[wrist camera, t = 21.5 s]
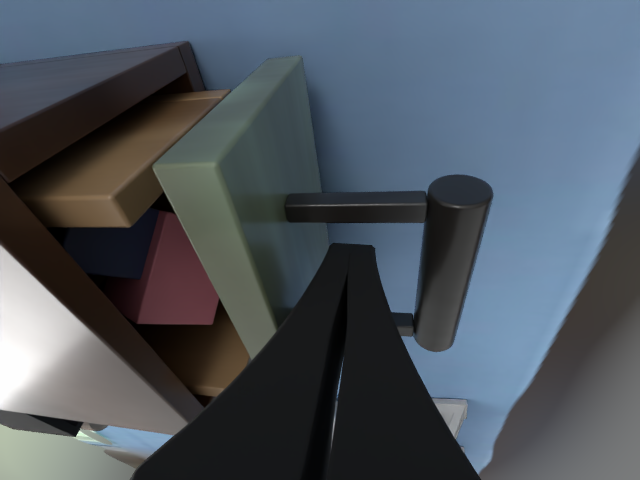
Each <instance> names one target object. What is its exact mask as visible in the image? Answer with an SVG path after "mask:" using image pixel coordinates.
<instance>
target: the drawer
mask: <svg viewBox="0 0 640 480" xmlns="http://www.w3.org/2000/svg"><path fill="white" fill-rule="evenodd" d="M7 184H8V185H9V186H10V188H11V189H12V190H13V191H14V192H15V193H16V194H17V196H18V197H19V198H20V199H21V200H22V201H23V202H24V203H25V205H26V206H27V207H28V208H29V209H30V210H31V211H32V213H33V214H34V215H35V216H36V217H37V218H38V219H39V221H40V222H41V223H42V224H43V225H44V226H45V227H46V228H47V227H90V228H128V227H131V226H133V225H134V224H135V223H136V221H137V220H138V219H139V218H140V217H141V216H142V215H143V214H144V213H145V212H146V211H147V209H148V208H149V207H150V208H153V209H157V210H160V211H168V212H172V213H175V214H176V216H177V218H178V220H179V221H180V223H181V225H182V227H183V229H184V231H185V233H186V235H187V237H188V239H189V241H190V243H191V245H192V246H193V248H194V250H195V252H196V254H197V256H198V258H199V260H200V262H201V264H202V266H203V268H204V269H205V271H206V273H207V275H208V277H209V279H210V281H211V283H212V285H213V287H214V289H215V291H216V293H217V294H218V296H219V301H218V305H217V309H216V313H215V317H214V321H213V324H211V325H202V324H136V323H135V322H133V321H132V320H130V319H129V318H127V317H126V316H124V315H123V314H122V315H123V316H124V317H125V318H126V319H127V321H128V322H129V323H130V324H131V325H132V326H133V327H134V328H135V330H136V331H137V332H138V333H139V334H140V335H141V336H142V338H143V339H144V340H145V341H146V342H147V343H148V344H149V346H150V347H151V348H152V349H153V350H154V351H155V352H156V354H157V355H158V356H159V357H160V358H161V359H162V360H163V361H164V363H165V364H166V365H167V366H168V367H169V368H170V369H171V371H172V372H173V373H174V374H175V375H176V376H177V377H178V379H179V380H180V381H181V382H182V383H183V384H184V385H185V386H186V388H187V389H188V390H189V391H190V392H191V393H192V394H197V395H206V396H214V397H217V396H218V395H219V394H220V393H221V392H222V391H223V390H224V389H225V388H226V387H227V386H228V385H229V384H230V383H231V382H232V381H233V380H234V379H235V378H236V377H237V376H238V375H239V374H240V373H241V371H242V370H243V369H244V368H245V367H246V366H247V365H248V364H249V363H250V362H251V360H252V359H253V358H254V357H255V356H256V355H257V354H258V353H259V352H260V350H261V349H262V348H263V347H264V346H265V344H266V343H267V342H268V341H269V340H270V339H271V337H272V336H273V335H274V334H275V332H276V331H277V330H278V328H279V327H280V326H281V325H282V323H283V322H284V321H285V319H286V318H287V316H288V315H289V314H290V312H291V311H292V309H293V308H294V307H295V305H296V304H297V302H298V301H299V300H300V298H301V297H302V295H303V293H304V292H305V290H306V289H307V287H308V285H309V284H310V282H311V281H312V279H313V277H314V276H315V274H316V272H317V270H318V269H319V267H320V265H321V263H322V261H323V259H324V257H325V255H326V253H327V251H328V248H329V246H330V245H329V238H328V231H327V224H326V223H424V230H423V239H422V248H421V257H420V266H419V275H418V284H417V293H416V302H415V311H414V320H413V314H411V313H395V312H391V313H392V316H393V319H394V321H395V324H396V326H397V328H398V331H399V333H400V336H409V337H412V336H413V337H414V339H415V340H416V342H417V343H418V344H419V345H420V346H421V347H423V348H424V349H426V350H429V351H433V352H441V351H444V350H447V349H448V348H450V347H451V346H452V345H453V343H454V340H455V336H456V333H457V329H458V325H459V322H460V318H461V314H462V311H463V307H464V303H465V299H466V296H467V292H468V288H469V285H470V281H471V277H472V274H473V270H474V266H475V263H476V259H477V255H478V252H479V248H480V244H481V240H482V237H483V233H484V229H485V226H486V222H487V218H488V215H489V211H490V207H491V204H492V200H493V191H492V188H491V187H490V185H489V184H488V183H486V182H485V181H483V180H481V179H479V178H476V177H473V176H468V175H447V176H443V177H440V178H438V179H436V180H434V181H433V182H432V183H431V185H430V186H429V188H428V193H427V195H426V192H425V191H388V192H336V193H322V189H321V182H320V175H319V168H318V161H317V154H316V147H315V140H314V133H313V126H312V119H311V112H310V105H309V98H308V91H307V84H306V77H305V70H304V63H303V58H302V56H300V55H298V56H288V57H279V58H270V59H267V60H265V61H264V62H263V63H262V64H261V65H260V66H259V67H258V68H257V69H256V70H255V71H254V72H252V73H251V74H250V75H249V76H248V77H247V78H246V79H245V80H244V81H243V82H242V83H241V84H239V85H238V86H237V87H236V88H235V89H234V90H233V91H232V92H231V90H230V89H223V90H212V91H201V92H190V93H178V94H167V95H156V96H148V97H147V98H145V99H143V100H142V101H140V102H139V103H137V104H135V105H134V106H132V107H131V108H129V109H127V110H126V111H124V112H123V113H121V114H119V115H118V116H116V117H115V118H113V119H111V120H110V121H108V122H107V123H105V124H103V125H102V126H100V127H99V128H97V129H95V130H94V131H92V132H90V133H89V134H87V135H86V136H84V137H82V138H81V139H79V140H78V141H76V142H74V143H73V144H71V145H70V146H68V147H66V148H65V149H63V150H62V151H60V152H58V153H57V154H55V155H54V156H52V157H50V158H49V159H47V160H46V161H44V162H42V163H41V164H39V165H38V166H36V167H34V168H33V169H31V170H29V171H28V172H26V173H25V174H23V175H21V176H20V177H18V178H17V179H15V180H13V181H12V182H10V183H7ZM87 275H88V276H89V277H90V278H91V280H92V281H93V282H94V283H95V284H96V285H97V286H98V288H99V289H100V290H101V291H102V292H103V291H104V288H105V284H106V281H107V277H108V276H100V275H91V274H87Z"/></svg>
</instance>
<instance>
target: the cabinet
mask: <svg viewBox="0 0 640 480" xmlns="http://www.w3.org/2000/svg"><path fill="white" fill-rule="evenodd" d="M201 91H205V88H204V85H203V82H202V79H201V76H200V73H199V70H198V67H197V64H196V61H195V58H194V55H193V52H192V50H191V47H190V44H189V42H188V41H183V42H175V43H167V44H159V45H151V46H143V47H135V48H127V49H119V50H111V51H103V52H95V53H87V54H79V55H71V56H63V57H55V58H47V59H39V60H31V61H23V62H15V63H7V64H0V410H6V411H13V412H19V413H26V414H33V415H40V416H47V417H54V418H60V419H67V420H74V421H81V422H88V423H95V424H101V425H108V426H115V427H122V428H129V429H135V430H142V431H149V432H156V433H163V434H170V435H175V434H177V433H178V432H179V431H180V430H181V429H182V428H184V427H185V426H186V425H187V424H188V423H189V422H190V421H191V420H192V419H194V418H195V417H196V416H197V415H198V414H199V413H200V412H201V411H202V410H203V409H204V408H205V407H206V406H207V405H208V404H209V403H210V402H211V401H212V400H213V399H215V398H216V397H214V396H206V395H197V394H192V393H191V392H190V391H189V390H188V389H187V388H186V386H185V385H184V384H183V383H182V382H181V381H180V380H179V379H178V377H177V376H176V375H175V374H174V373H173V372H172V371H171V369H170V368H169V367H168V366H167V365H166V364H165V363H164V361H163V360H162V359H161V358H160V357H159V356H158V355H157V354H156V352H155V351H154V350H153V349H152V348H151V347H150V346H149V344H148V343H147V342H146V341H145V340H144V339H143V338H142V336H141V335H140V334H139V333H138V332H137V331H136V330H135V328H134V327H133V326H132V325H131V324H130V323H129V322H128V321H127V319H126V318H125V317H124V316H123V315H122V314H121V313H120V311H119V310H118V309H117V308H116V307H115V306H114V305H113V303H112V302H111V301H110V300H109V299H108V298H107V297H106V296H105V294H104V293H103V292H102V291H101V290H100V289H99V288H98V286H97V285H96V284H95V283H94V282H93V281H92V280H91V278H90V277H89V276H88V275H87V274H86V273H85V272H84V271H83V269H82V268H81V267H80V266H79V265H78V264H77V263H76V261H75V260H74V259H73V258H72V257H71V256H70V255H69V253H68V252H67V251H66V250H65V249H64V248H63V247H62V246H61V244H60V243H59V242H58V241H57V240H56V239H55V238H54V236H53V235H52V234H51V233H50V232H49V231H48V230H47V228H46V227H45V226H44V225H43V224H42V223H41V222H40V221H39V219H38V218H37V217H36V216H35V215H34V214H33V213H32V211H31V210H30V209H29V208H28V207H27V206H26V205H25V203H24V202H23V201H22V200H21V199H20V198H19V197H18V196H17V194H16V193H15V192H14V191H13V190H12V189H11V188H10V186H9V185H8V184H7V183H10V182H12V181H13V180H15V179H17V178H18V177H20V176H21V175H23V174H25V173H26V172H28V171H29V170H31V169H33V168H34V167H36V166H38V165H39V164H41V163H42V162H44V161H46V160H47V159H49V158H50V157H52V156H54V155H55V154H57V153H58V152H60V151H62V150H63V149H65V148H66V147H68V146H70V145H71V144H73V143H74V142H76V141H78V140H79V139H81V138H82V137H84V136H86V135H87V134H89V133H90V132H92V131H94V130H95V129H97V128H99V127H100V126H102V125H103V124H105V123H107V122H108V121H110V120H111V119H113V118H115V117H116V116H118V115H119V114H121V113H123V112H124V111H126V110H127V109H129V108H131V107H132V106H134V105H135V104H137V103H139V102H140V101H142V100H143V99H145V98H147V97H148V96H156V95H167V94H178V93H190V92H201Z"/></svg>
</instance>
